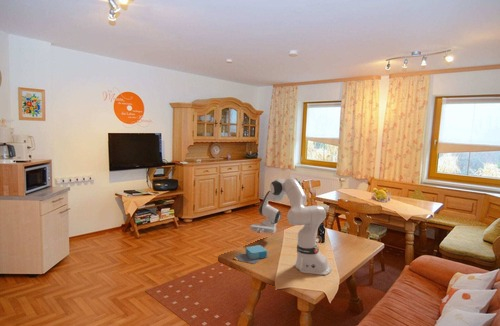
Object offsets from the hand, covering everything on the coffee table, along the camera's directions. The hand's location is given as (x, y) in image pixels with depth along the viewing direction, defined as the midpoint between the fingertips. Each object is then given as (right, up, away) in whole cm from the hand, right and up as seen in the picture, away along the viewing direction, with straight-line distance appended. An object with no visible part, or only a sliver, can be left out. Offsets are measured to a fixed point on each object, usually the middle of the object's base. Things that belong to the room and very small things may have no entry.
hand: (258, 231), depth 231 cm
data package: (-5, -9, -13) cm, 17 cm away
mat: (-9, -13, -23) cm, 28 cm away
